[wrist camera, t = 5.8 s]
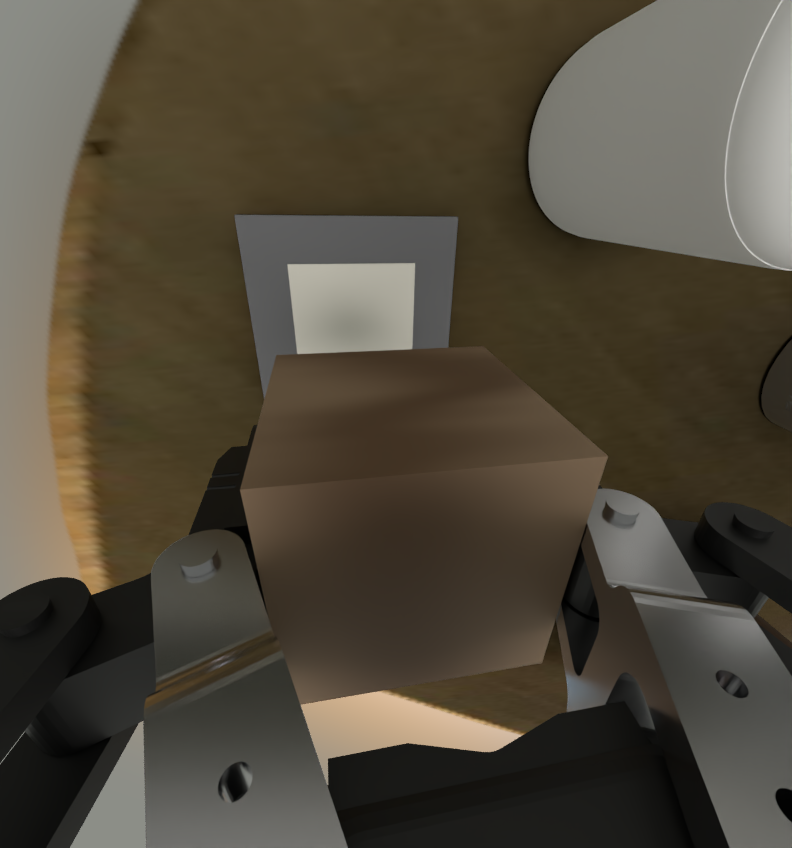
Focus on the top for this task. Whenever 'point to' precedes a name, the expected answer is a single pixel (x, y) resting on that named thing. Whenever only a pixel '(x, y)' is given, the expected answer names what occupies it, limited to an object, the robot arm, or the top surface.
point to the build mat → (346, 283)
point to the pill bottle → (675, 133)
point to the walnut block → (412, 516)
